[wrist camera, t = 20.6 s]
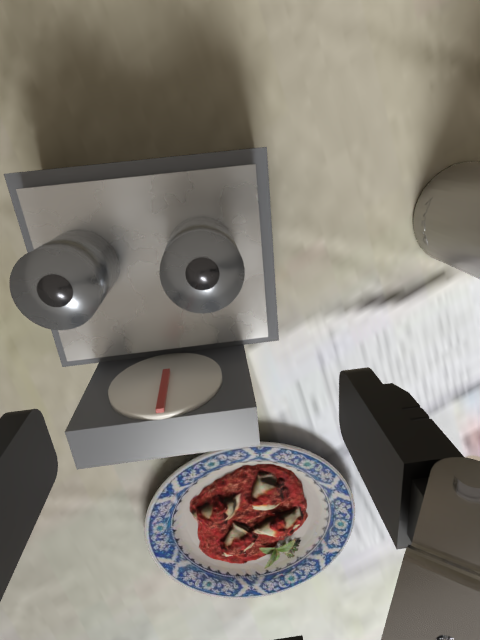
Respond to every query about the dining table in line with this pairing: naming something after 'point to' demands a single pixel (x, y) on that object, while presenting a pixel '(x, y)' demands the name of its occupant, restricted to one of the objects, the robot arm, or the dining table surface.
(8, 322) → the dining table surface
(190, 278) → the cylinder
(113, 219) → the scale pan
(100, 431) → the scale
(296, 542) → the ceramic plate
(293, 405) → the dining table surface
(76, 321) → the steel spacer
